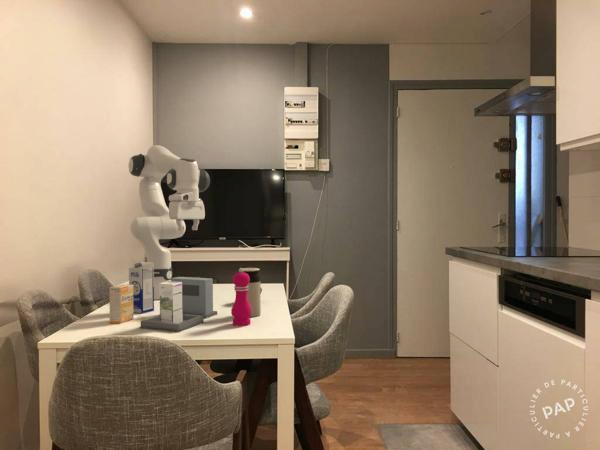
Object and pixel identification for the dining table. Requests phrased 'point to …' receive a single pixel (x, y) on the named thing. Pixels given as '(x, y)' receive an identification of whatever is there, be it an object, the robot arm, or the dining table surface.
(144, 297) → the milk carton
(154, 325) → the parts tray
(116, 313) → the supplement box
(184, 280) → the control unit
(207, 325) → the dining table surface
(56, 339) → the dining table surface
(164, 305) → the syrup box
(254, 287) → the travel mug
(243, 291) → the red pepper mill
